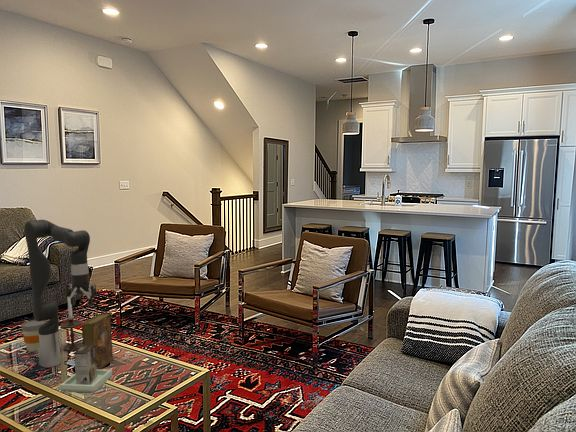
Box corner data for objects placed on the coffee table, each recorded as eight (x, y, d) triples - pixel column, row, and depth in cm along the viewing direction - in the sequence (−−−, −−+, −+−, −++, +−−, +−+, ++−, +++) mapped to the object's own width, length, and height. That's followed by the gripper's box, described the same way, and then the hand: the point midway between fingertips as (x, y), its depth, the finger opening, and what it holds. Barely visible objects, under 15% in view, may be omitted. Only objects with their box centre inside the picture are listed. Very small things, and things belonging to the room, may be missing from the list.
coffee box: (83, 376, 207) (81, 344, 205) (97, 376, 208) (95, 344, 206) (75, 386, 198) (73, 352, 196) (90, 385, 199) (87, 352, 197)
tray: (60, 391, 196) (60, 384, 196) (81, 374, 212) (81, 368, 211) (93, 392, 194) (93, 386, 194) (112, 375, 210) (111, 369, 210)
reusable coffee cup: (37, 342, 253) (35, 318, 251) (54, 345, 249) (52, 320, 247) (18, 351, 241) (15, 325, 239) (35, 354, 237) (33, 327, 235)
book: (105, 358, 230) (102, 313, 227) (114, 359, 229) (111, 313, 226) (84, 372, 214) (81, 324, 211) (94, 373, 213) (91, 324, 210)
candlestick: (73, 343, 251) (68, 284, 247) (87, 345, 248) (83, 285, 244) (57, 350, 241) (52, 289, 237) (72, 353, 237) (68, 291, 234)
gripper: (61, 274, 202) (63, 307, 204) (89, 274, 201) (91, 308, 203) (70, 270, 210) (73, 302, 212) (98, 271, 208) (100, 303, 210)
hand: (82, 305), depth 207 cm, fingers open, 8 cm apart
